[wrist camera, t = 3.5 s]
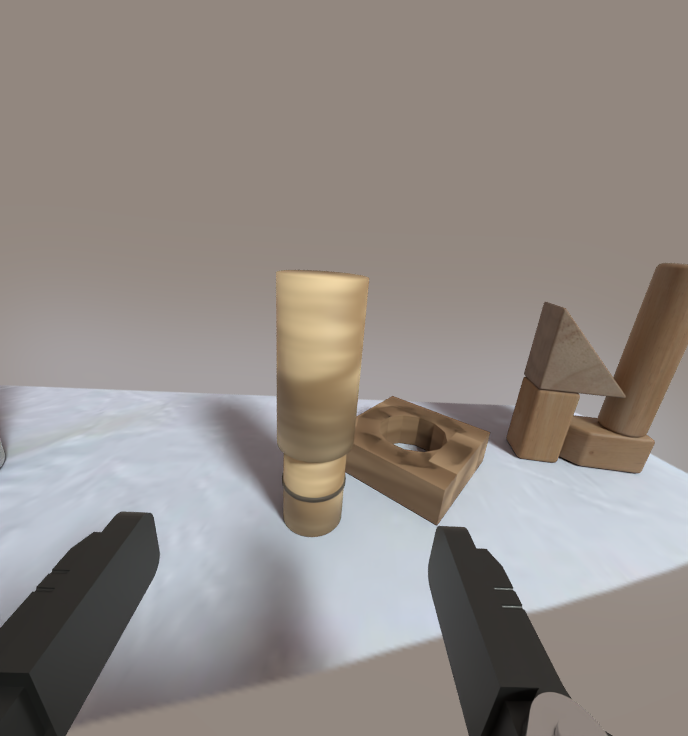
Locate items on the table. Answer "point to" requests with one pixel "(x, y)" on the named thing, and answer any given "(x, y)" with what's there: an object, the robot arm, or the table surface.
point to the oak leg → (317, 390)
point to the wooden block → (601, 382)
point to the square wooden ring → (415, 455)
